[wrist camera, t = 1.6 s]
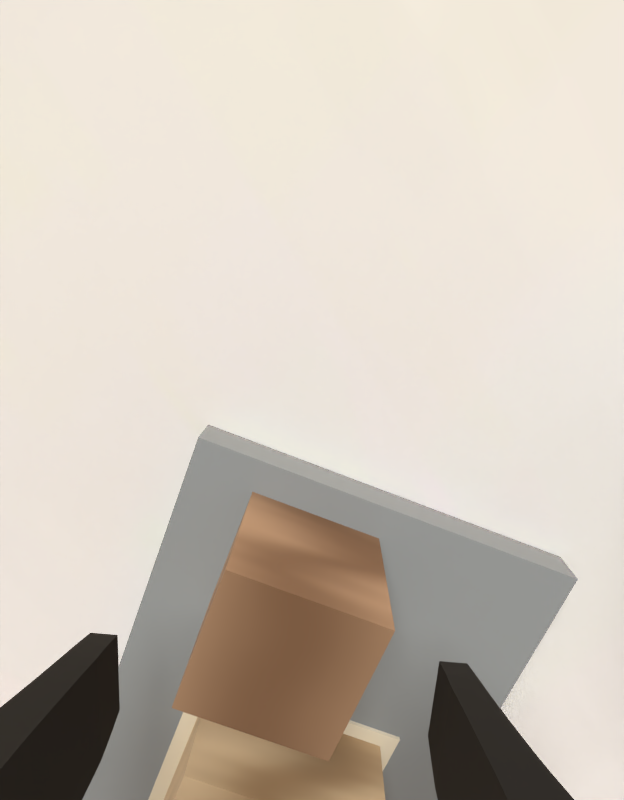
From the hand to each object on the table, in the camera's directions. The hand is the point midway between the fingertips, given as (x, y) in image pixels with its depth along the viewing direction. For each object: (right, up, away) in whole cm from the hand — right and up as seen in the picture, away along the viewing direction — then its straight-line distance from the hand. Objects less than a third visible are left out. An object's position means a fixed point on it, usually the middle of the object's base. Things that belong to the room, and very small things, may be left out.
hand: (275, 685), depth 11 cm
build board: (0, -4, +7) cm, 8 cm away
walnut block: (0, +1, +4) cm, 4 cm away
